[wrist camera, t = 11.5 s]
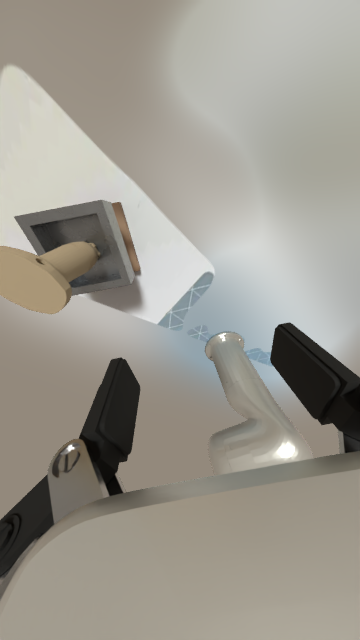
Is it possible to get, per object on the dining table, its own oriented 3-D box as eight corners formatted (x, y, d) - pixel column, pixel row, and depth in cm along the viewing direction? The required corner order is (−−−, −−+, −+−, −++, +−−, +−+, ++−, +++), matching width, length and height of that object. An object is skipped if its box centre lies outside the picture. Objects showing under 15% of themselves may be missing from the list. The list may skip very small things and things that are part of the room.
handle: (101, 274, 28) (54, 322, 16) (64, 249, 25) (-29, 282, 13) (115, 253, 27) (75, 288, 14) (77, 223, 24) (-16, 233, 11)
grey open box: (135, 276, 30) (131, 284, 26) (76, 287, 30) (64, 297, 26) (111, 202, 24) (101, 199, 20) (37, 216, 24) (13, 216, 20)
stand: (140, 268, 35) (137, 277, 30) (88, 278, 35) (75, 288, 30) (120, 202, 28) (112, 199, 23) (56, 215, 28) (33, 214, 23)
